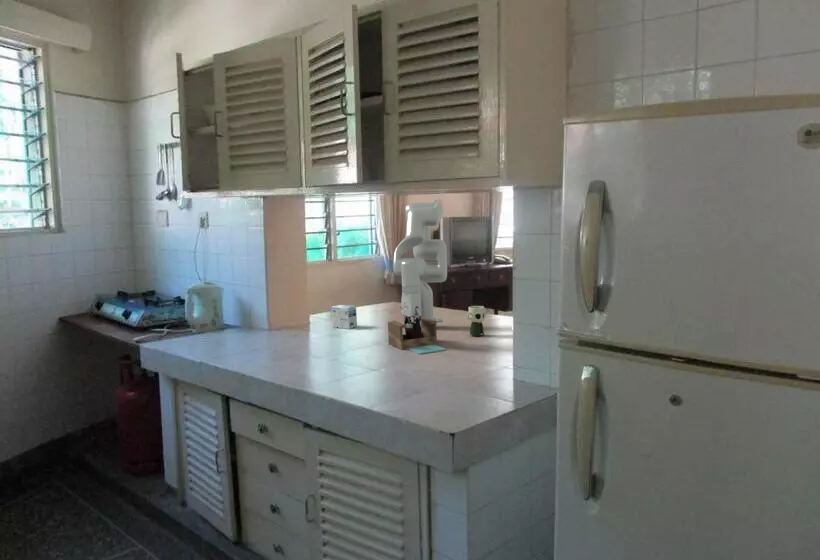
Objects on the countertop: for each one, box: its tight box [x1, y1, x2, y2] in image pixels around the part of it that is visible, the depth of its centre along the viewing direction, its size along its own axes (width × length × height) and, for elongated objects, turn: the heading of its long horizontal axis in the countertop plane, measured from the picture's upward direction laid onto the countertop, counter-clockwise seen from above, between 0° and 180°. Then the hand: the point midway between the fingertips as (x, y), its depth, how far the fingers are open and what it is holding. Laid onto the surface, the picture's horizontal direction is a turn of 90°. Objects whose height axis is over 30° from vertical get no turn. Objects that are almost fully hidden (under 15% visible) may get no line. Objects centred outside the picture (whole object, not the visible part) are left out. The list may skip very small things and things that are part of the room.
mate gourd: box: [399, 306, 422, 340], centre depth 272 cm, size 8×8×15 cm
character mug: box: [466, 305, 487, 337], centre depth 285 cm, size 11×7×13 cm, turn 125°
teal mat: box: [408, 344, 447, 355], centre depth 261 cm, size 12×10×1 cm
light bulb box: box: [331, 304, 358, 330], centre depth 316 cm, size 11×7×11 cm, turn 58°
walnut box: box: [387, 317, 438, 351], centre depth 272 cm, size 17×12×10 cm
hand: (412, 330), depth 273 cm, fingers closed on mate gourd, 7 cm apart
